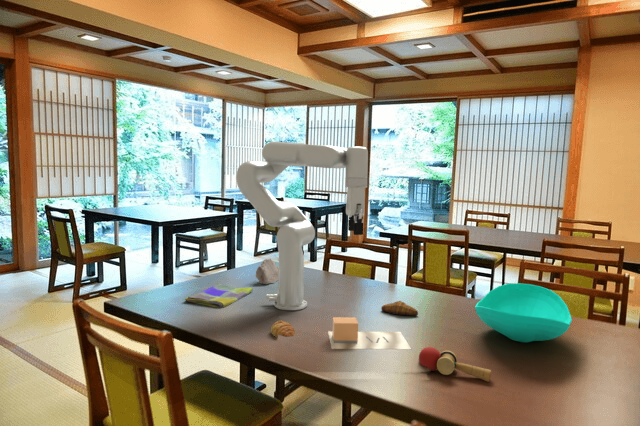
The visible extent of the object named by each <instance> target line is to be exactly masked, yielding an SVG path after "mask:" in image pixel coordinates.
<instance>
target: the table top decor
mask: <svg viewBox="0 0 640 426" xmlns="http://www.w3.org/2000/svg"><path fill="white" fill-rule="evenodd" d="M474 308H475V313H476V315H477V316H478V317H479V319H480V320H481V321H482V322H483V323H484V324H485V325H487V326H488V327H490V328H491V329H493V330H494V331H496V332H497V333H499V334H501V335H503V336H505V337H506V338H508V339H510V340H512V341H515V342H520V343H531V342H538V341H539V342H540V341H541V342H543V341H549V340H555V339H556V338H558V337H560V336H563V335H564V334H565V333H566V332H567V331H568V330H569V328H570V327H571V323H572V321H573V320H572V315H571V312H570V310H569V307H568V305H567V304H566V303H565V301H564V300H563V299H562V297H561V296H560V295H559V294H557V293H556V292H555V291H553V290H552V289H548V288H546V287H543V286H540V285H535V284H530V283H519V282H516V283H505V284H502V285H499V286H497V287H495V288H493V289H491V290H489V291H488V293H487V294H485V296H483V298H481V299H480V300H478V301H477V303H476V305H475V306H474Z"/></svg>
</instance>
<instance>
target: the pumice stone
mask: <svg viewBox="0 0 640 426" xmlns="http://www.w3.org/2000/svg"><path fill="white" fill-rule="evenodd" d="M255 278H257V279H256V280H258V281H259V284H263V285H268V284H275V283H278V278H279V266H277V263H276V262H275V261H274V260H273V259H271V258H265V259H264V260H263V261H262V262H261V264H260V265H259V266H258V267H257V268H256V270H255Z"/></svg>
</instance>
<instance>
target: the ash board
mask: <svg viewBox="0 0 640 426" xmlns="http://www.w3.org/2000/svg"><path fill="white" fill-rule="evenodd" d="M332 331H333V330H332ZM332 331H330V330H328V331H327V334H328V338H329V343H330V348H331V350H412V348H411V346H410V344H409V343H408V341H407V340H406V338H405V337H404V335H403V334H402V332H401V331H358V342H357V343H334V342H333V337H332Z"/></svg>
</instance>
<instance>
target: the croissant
mask: <svg viewBox="0 0 640 426" xmlns="http://www.w3.org/2000/svg"><path fill="white" fill-rule="evenodd" d="M381 311H382V312H384V313H389V314H392V315H393V314H394V315H397V316H410V317H411V316H412V317H415V316H418V315H419V311H418V310H417V309H416V308H415V307H413V306H411V305H408V304H407V303H405V302H403V301H401V300H398V301H394V302H391V303H386V304H384V305H382V306H381Z"/></svg>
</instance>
